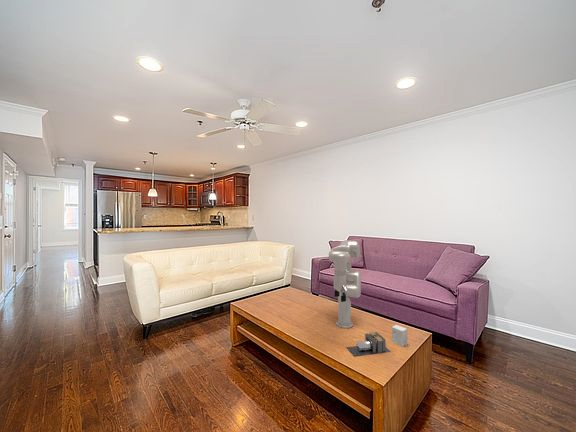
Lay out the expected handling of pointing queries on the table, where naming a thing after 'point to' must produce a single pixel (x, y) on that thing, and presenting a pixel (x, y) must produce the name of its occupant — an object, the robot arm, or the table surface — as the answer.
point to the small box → (399, 335)
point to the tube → (365, 345)
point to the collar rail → (372, 337)
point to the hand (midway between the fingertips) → (340, 298)
